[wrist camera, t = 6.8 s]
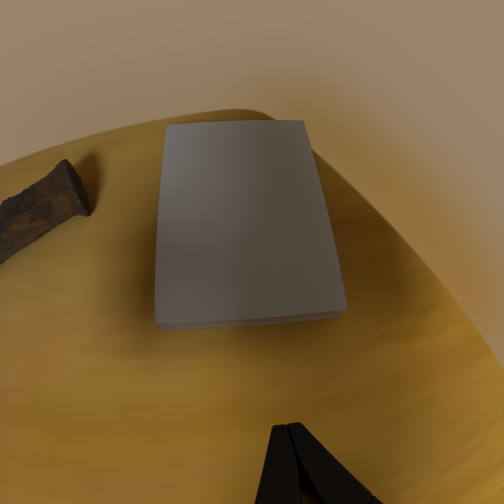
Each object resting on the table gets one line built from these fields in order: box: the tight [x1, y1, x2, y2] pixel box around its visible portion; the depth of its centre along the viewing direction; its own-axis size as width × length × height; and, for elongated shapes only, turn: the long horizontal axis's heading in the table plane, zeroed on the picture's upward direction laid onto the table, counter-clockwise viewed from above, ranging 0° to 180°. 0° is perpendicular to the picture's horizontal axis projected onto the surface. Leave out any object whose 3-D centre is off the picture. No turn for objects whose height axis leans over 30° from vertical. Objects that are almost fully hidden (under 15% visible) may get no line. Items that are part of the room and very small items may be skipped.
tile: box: [155, 120, 348, 330], centre depth 19 cm, size 2×10×14 cm
